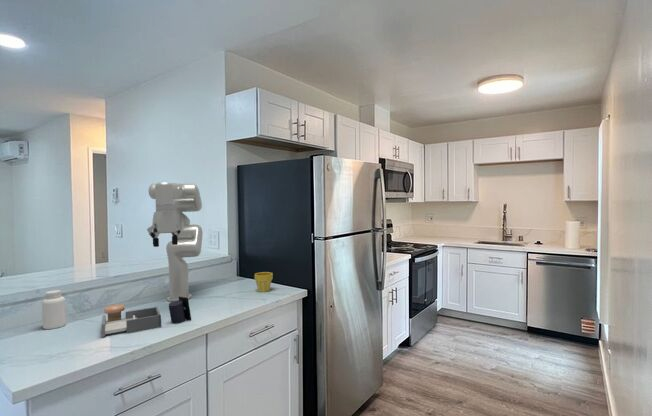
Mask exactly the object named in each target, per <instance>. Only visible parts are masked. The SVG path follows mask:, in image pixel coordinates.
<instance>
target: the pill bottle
mask: <svg viewBox="0 0 652 416" xmlns="http://www.w3.org/2000/svg"><path fill="white" fill-rule="evenodd" d="M44 295H45V296H44V297H45V298H44V299H43V300H42V302H41V313H42V315H41V316H42V328H43V329H44V330H54V329H59V328H62V327H64V326H66V324H67V309H66V308H67V307H66V306H67V304H66V298H65V297H64V296H62V290H60V289H55V290H53V289H52V290H50V291H49V290H48V291H46V292H45V294H44Z"/></svg>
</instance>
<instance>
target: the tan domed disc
mask: <svg viewBox="0 0 652 416" xmlns="http://www.w3.org/2000/svg"><path fill="white" fill-rule="evenodd" d="M123 311H125V303H114V304H110V305H109V304H108V305H105V306H104V307H103V313H104V314H107V315H108V314H109V313H117V312H121V313H122V312H123Z"/></svg>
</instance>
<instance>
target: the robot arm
mask: <svg viewBox="0 0 652 416" xmlns="http://www.w3.org/2000/svg"><path fill="white" fill-rule="evenodd" d="M148 196H149V197H150V198H151V199H152V200H155V211H154V212H153V217H152V225H150V226H149V227H147V228H146V231H147V232H148V235H149V236H150V237H151V238H152V245H153V247H154V248H158V247H159V246H160V240H159V235H160V234H171V241H168V243H167V244H166V247H165V250H166V254H167V255H166V256H167V260H168V277H169V279H168V281H169V282H168V283H169V284H168V285H169V296H166V301H168V302H173V301H178V300H179V297H187V298H188V300H190V299H192V297H193V295H192V294H191V293H189V291H190V290H189V287H190V285H189V265H188V263H187V261H186V260H185V258H195V257H199V256H200V255H201V252H202V245H203V243H202V242H203V229H202V227H201V225H199V224H191V220H190V218H189V217H188V216H187V215H186V214H185V213H188V212H189V213H190V212H192V213H193V212H199V211H201V209H202V208H203V205H202V198H201V194H200V190H199V187H198V186H197V184H196V183H176V182H167V181H162V182H157V183H152V184H150V185H149V186H148Z"/></svg>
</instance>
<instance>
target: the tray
mask: <svg viewBox="0 0 652 416" xmlns="http://www.w3.org/2000/svg"><path fill="white" fill-rule="evenodd" d="M106 318H107V317H106V314H102V319H101V337H102V338H104V337H106V335H109V334H116V333H120V332H125V331H126V332H127V325H126V320H132V319H137V317H136V318H135V315H133V318H130V319H126V318H125V319H121V320H118V321H112V322H108V321H107V319H106Z"/></svg>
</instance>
